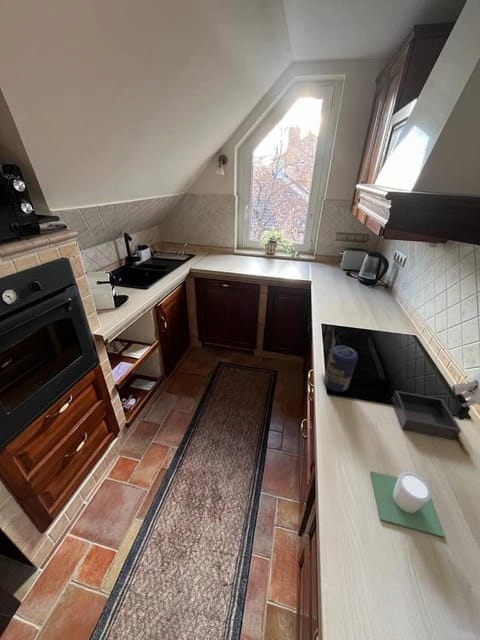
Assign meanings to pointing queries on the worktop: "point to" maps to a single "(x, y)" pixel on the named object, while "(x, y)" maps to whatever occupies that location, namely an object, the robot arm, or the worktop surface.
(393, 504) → the drying mat
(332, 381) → the canister
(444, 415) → the basin
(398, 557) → the worktop surface
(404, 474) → the white short cylinder
